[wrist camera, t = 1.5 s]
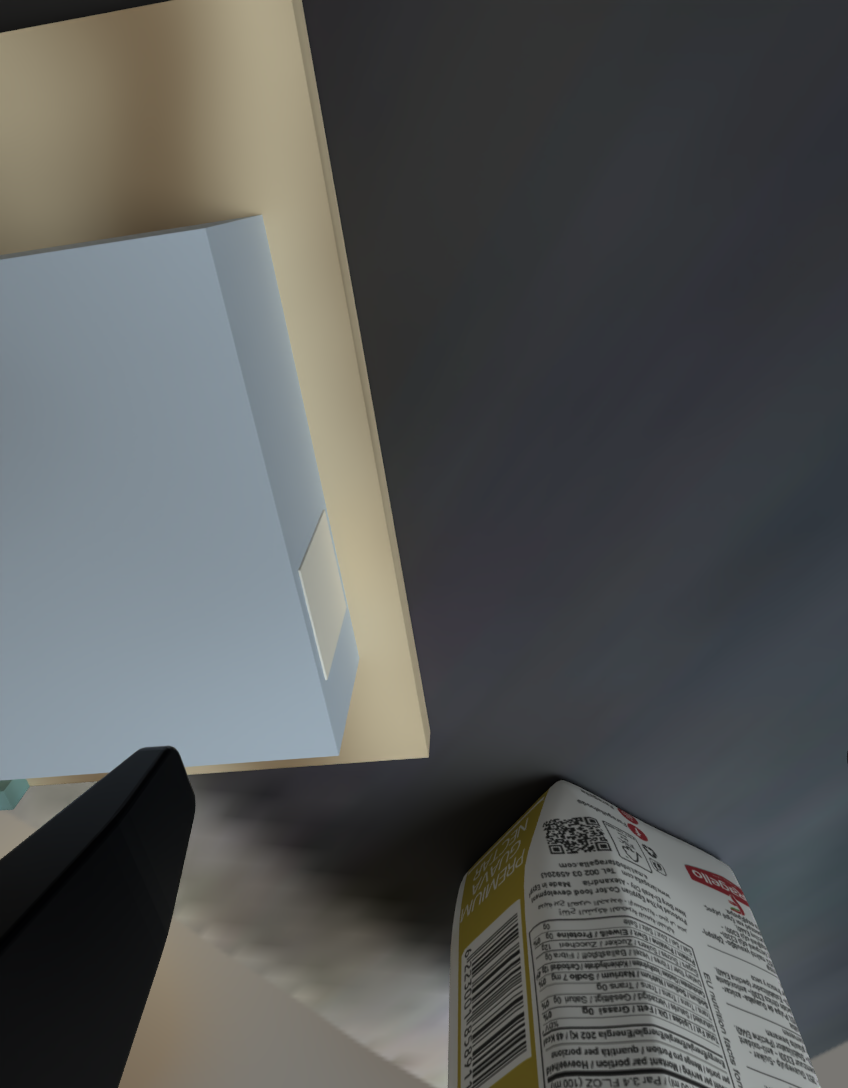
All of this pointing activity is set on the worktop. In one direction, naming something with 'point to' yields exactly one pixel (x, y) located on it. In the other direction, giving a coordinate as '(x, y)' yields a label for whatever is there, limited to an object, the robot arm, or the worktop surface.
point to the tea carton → (161, 512)
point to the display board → (209, 196)
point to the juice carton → (611, 962)
